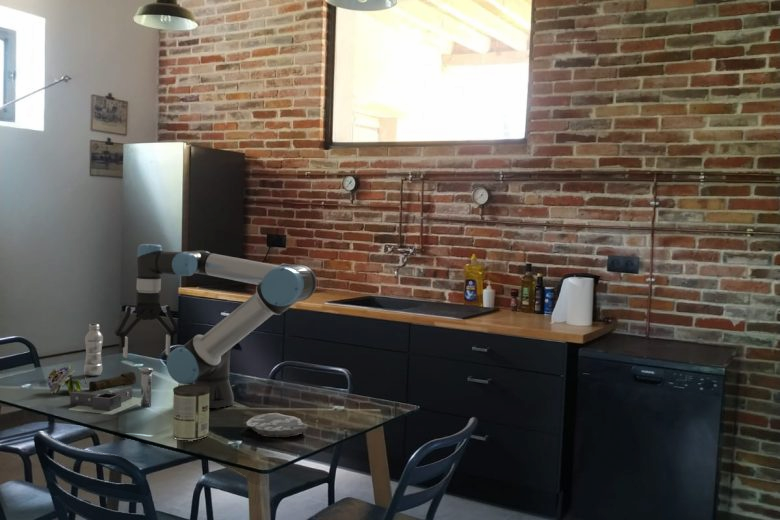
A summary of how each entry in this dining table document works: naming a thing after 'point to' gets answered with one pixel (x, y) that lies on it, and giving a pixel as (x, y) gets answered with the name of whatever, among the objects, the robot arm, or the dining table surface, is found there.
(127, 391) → the bolted dark bar
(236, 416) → the dining table surface
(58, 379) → the passion flower
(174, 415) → the coffee can
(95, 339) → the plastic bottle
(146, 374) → the hinge pin
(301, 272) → the robot arm
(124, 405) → the mat
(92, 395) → the hinge base
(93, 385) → the hand tool
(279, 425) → the brain slice
